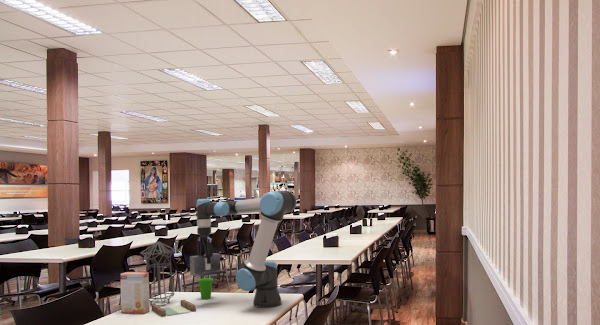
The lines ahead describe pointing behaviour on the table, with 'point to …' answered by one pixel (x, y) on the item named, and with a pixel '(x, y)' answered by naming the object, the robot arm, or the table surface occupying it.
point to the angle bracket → (199, 265)
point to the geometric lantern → (159, 269)
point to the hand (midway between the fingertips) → (205, 269)
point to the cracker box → (135, 292)
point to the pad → (175, 310)
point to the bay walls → (184, 304)
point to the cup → (205, 287)
